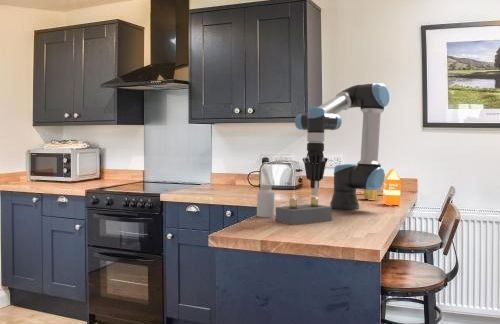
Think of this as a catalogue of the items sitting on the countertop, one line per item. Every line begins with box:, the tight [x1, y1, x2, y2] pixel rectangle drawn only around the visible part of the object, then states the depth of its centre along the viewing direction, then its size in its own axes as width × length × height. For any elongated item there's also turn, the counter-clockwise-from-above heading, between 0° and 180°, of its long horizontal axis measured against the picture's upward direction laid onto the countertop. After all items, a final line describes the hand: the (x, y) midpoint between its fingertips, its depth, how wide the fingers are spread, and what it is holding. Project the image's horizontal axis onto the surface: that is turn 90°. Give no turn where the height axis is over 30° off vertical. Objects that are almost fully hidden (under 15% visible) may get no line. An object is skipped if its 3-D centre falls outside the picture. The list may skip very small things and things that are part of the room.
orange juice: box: [382, 168, 402, 206], centre depth 271 cm, size 8×9×20 cm
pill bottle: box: [256, 183, 275, 219], centre depth 224 cm, size 8×8×15 cm
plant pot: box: [362, 188, 381, 200], centre depth 292 cm, size 10×10×10 cm
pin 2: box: [310, 196, 319, 207], centre depth 217 cm, size 3×3×6 cm
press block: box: [274, 203, 333, 226], centre depth 214 cm, size 22×12×6 cm, turn 123°
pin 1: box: [288, 198, 298, 209], centre depth 210 cm, size 3×3×6 cm
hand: (314, 195), depth 217 cm, fingers closed
